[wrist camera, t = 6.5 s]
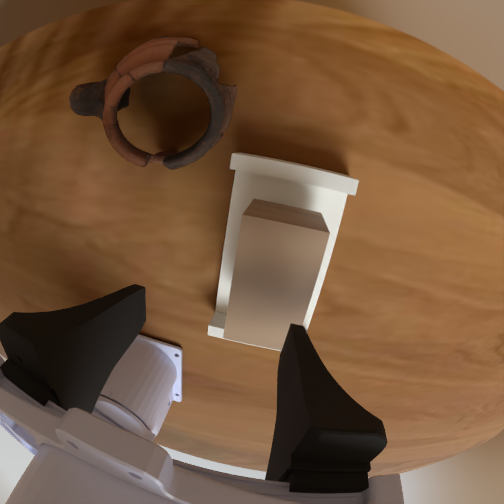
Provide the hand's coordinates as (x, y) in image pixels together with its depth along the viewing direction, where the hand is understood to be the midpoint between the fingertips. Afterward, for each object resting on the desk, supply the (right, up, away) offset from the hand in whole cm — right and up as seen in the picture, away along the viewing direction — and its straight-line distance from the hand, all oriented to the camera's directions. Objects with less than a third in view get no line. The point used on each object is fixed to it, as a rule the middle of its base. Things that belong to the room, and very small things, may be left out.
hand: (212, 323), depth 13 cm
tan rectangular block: (+3, +3, +7) cm, 8 cm away
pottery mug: (-5, +15, +6) cm, 17 cm away
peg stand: (+4, +3, +9) cm, 10 cm away
